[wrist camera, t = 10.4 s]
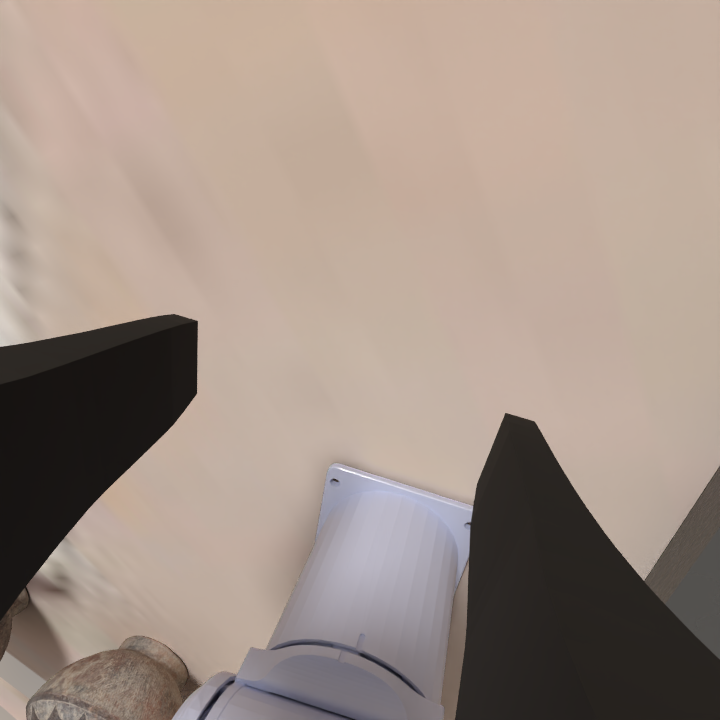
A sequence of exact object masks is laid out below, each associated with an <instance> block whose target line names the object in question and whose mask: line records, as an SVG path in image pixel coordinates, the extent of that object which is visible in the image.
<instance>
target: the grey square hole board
mask: <svg viewBox="0 0 720 720" xmlns="http://www.w3.org/2000/svg"><path fill="white" fill-rule="evenodd" d="M644 582H645V583H646V584H647V585H648V586H649V587H650V589H651V590H652V591H653V592H654V593H655V594H656V595H657V596H658V597H659V599H660V600H661V601H662V602H663V603H664V604H665V605H666V606H667V607H668V608H669V609H670V610H671V611H672V612H673V613H674V614H675V615H676V616H677V617H678V618H679V619H680V620H681V622H682V623H683V624H684V625H685V626H686V627H687V628H688V629H689V630H690V631H691V632H692V633H693V634H694V635H695V636H696V637H697V638H698V639H699V640H700V641H701V642H702V643H703V644H704V645H705V646H706V647H707V648H708V649H709V650H710V651H711V652H712V653H714V654H715V655H716V656H717V657H718V658H719V659H720V467H719V469H718V470H717V472H716V473H715V475H714V476H713V478H712V479H711V481H710V482H709V484H708V485H707V487H706V489H705V490H704V492H703V493H702V495H701V496H700V498H699V499H698V501H697V502H696V504H695V505H694V507H693V508H692V510H691V511H690V513H689V514H688V516H687V517H686V519H685V520H684V522H683V524H682V525H681V527H680V528H679V530H678V531H677V533H676V534H675V536H674V537H673V539H672V540H671V542H670V543H669V545H668V546H667V548H666V549H665V551H664V552H663V554H662V555H661V557H660V559H659V560H658V562H657V563H656V565H655V566H654V568H653V569H652V571H651V572H650V574H649V575H648V577H647V578H646V580H645V581H644Z"/></svg>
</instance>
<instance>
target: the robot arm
mask: <svg viewBox="0 0 720 720" xmlns="http://www.w3.org/2000/svg"><path fill="white" fill-rule="evenodd" d="M197 341H198V321H196V320H192V319H189V318H186V317H182V316H179V315H175V314H171V315H163V316H157V317H151V318H146V319H141V320H136V321H132V322H127V323H123V324H118V325H114V326H109V327H105V328H100V329H95V330H91V331H86V332H82V333H77V334H72V335H66V336H61V337H56V338H51V339H46V340H40V341H35V342H30V343H24V344H18V345H11V346H4V347H0V621H1V619H2V618H3V617H4V615H5V614H6V613H7V611H8V610H9V609H10V607H11V606H12V604H13V603H14V602H15V600H16V599H17V598H18V596H19V595H20V594H21V592H22V591H23V590H24V588H25V587H26V585H27V584H28V583H29V581H30V580H31V579H32V578H33V576H34V575H35V574H36V573H37V571H38V570H39V569H40V568H41V566H42V565H43V564H44V562H45V561H46V560H47V559H48V557H49V556H50V555H51V554H52V552H53V551H54V550H55V549H56V547H57V546H58V545H59V543H60V542H61V541H62V540H63V539H64V537H65V536H66V535H67V534H68V533H69V532H70V530H71V529H72V528H73V527H74V526H75V524H76V523H77V522H78V521H79V520H80V518H81V517H82V516H83V515H84V514H85V512H86V511H87V510H88V509H89V508H90V507H91V506H92V505H93V503H94V502H95V501H96V500H97V499H98V498H99V497H100V496H101V495H102V494H103V493H104V492H105V491H106V490H107V489H108V488H109V487H110V486H111V485H112V484H113V483H114V482H115V481H116V480H117V479H118V478H119V477H120V476H121V475H122V474H124V473H125V472H126V471H127V470H128V469H129V468H130V467H131V466H132V465H133V464H134V463H135V462H136V461H137V460H138V459H139V458H140V457H141V456H142V455H143V454H144V453H145V452H146V451H147V450H148V449H149V448H150V447H151V446H152V445H153V444H154V443H156V442H157V441H158V440H159V439H160V438H161V437H162V436H163V435H164V434H165V433H166V432H167V431H168V430H169V429H170V428H171V427H172V426H173V424H174V423H175V422H176V421H177V419H178V418H179V417H180V416H181V414H182V413H183V412H184V411H185V409H186V408H187V406H188V405H189V404H190V402H191V401H192V400H193V398H194V397H195V396H196V394H197ZM333 478H334V479H337V480H338V481H339V482H336V481H334V480H333ZM468 522H470V523H471V524H470V525H468V524H466V523H468ZM468 558H469V575H468V605H467V629H466V642H465V652H464V659H463V667H462V674H461V682H460V689H459V696H458V703H457V710H456V717H455V720H720V659H719V658H718V657H717V656H716V655H715V654H714V653H712V652H711V651H710V650H709V649H708V648H707V647H706V646H705V645H704V644H703V643H702V642H701V641H700V640H699V639H698V638H697V637H696V636H695V635H694V634H693V633H692V632H691V631H690V630H689V629H688V628H687V627H686V626H685V625H684V624H683V623H682V622H681V620H680V619H679V618H678V617H677V616H676V615H675V614H674V613H673V612H672V611H671V610H670V609H669V608H668V607H667V606H666V605H665V604H664V603H663V602H662V601H661V600H660V599H659V597H658V596H657V595H656V594H655V593H654V592H653V591H652V590H651V589H650V587H649V586H648V585H647V584H646V583H645V582H644V581H643V580H642V578H641V577H640V576H639V575H638V574H637V572H636V571H635V570H634V569H633V568H632V566H631V565H630V564H629V563H628V562H627V560H626V559H625V558H624V557H623V556H622V554H621V553H620V552H619V551H618V550H617V548H616V547H615V546H614V544H613V543H612V542H611V541H610V539H609V538H608V537H607V535H606V534H605V533H604V531H603V530H602V528H601V527H600V526H599V524H598V523H597V521H596V520H595V519H594V517H593V516H592V514H591V513H590V512H589V510H588V509H587V507H586V506H585V504H584V503H583V501H582V500H581V498H580V497H579V495H578V494H577V492H576V491H575V489H574V488H573V486H572V485H571V483H570V481H569V480H568V478H567V476H566V475H565V473H564V472H563V470H562V468H561V466H560V465H559V463H558V461H557V460H556V458H555V456H554V454H553V453H552V451H551V449H550V447H549V446H548V444H547V442H546V440H545V439H544V437H543V435H542V433H541V431H540V430H539V428H538V426H537V425H536V423H535V422H534V421H531V420H528V419H524V418H521V417H517V416H514V415H511V414H507V413H505V416H504V418H503V421H502V423H501V426H500V428H499V431H498V433H497V436H496V438H495V441H494V443H493V446H492V448H491V451H490V453H489V456H488V458H487V461H486V463H485V466H484V468H483V471H482V473H481V476H480V478H479V481H478V483H477V488H476V494H475V500H474V505H473V506H471V505H468V504H465V503H462V502H459V501H456V500H453V499H449V498H446V497H443V496H440V495H437V494H434V493H431V492H427V491H424V490H421V489H418V488H415V487H412V486H409V485H405V484H402V483H399V482H396V481H393V480H390V479H387V478H383V477H380V476H377V475H374V474H371V473H368V472H365V471H362V470H358V469H355V468H352V467H349V466H346V465H343V464H339V463H333V464H332V465H330V467H329V469H328V471H327V476H326V481H325V487H324V493H323V499H322V504H321V510H320V516H319V522H318V527H317V533H316V539H315V544H314V547H313V549H312V551H311V553H310V555H309V557H308V559H307V562H306V564H305V566H304V568H303V570H302V572H301V574H300V577H299V579H298V581H297V583H296V585H295V587H294V589H293V592H292V594H291V596H290V598H289V600H288V602H287V604H286V607H285V609H284V611H283V613H282V615H281V617H280V620H279V622H278V624H277V626H276V628H275V630H274V632H273V635H272V637H271V639H270V641H269V643H268V645H267V647H266V650H263V649H258V648H253V647H252V648H250V650H249V652H248V654H247V656H246V658H245V660H244V662H243V664H242V666H241V668H240V670H239V672H238V674H237V675H236V674H233V673H230V672H220V673H217V674H216V675H214V676H213V677H211V678H210V679H208V680H207V681H206V682H205V683H204V684H203V685H202V686H201V687H199V688H198V689H196V690H195V691H194V692H193V693H192V694H191V695H190V696H189V697H188V698H187V699H186V700H185V702H184V703H183V704H182V705H181V707H180V708H179V709H178V711H177V712H176V714H175V715H174V717H173V718H172V720H444V712H445V708H444V707H443V706H442V705H441V697H442V689H443V680H444V672H445V664H446V655H447V647H448V639H449V630H450V622H451V614H452V605H453V597H454V594H455V591H456V589H457V586H458V584H459V581H460V578H461V576H462V573H463V571H464V568H465V566H466V563H467V561H468Z"/></svg>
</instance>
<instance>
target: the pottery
mask: <svg viewBox="0 0 720 720" xmlns="http://www.w3.org/2000/svg"><path fill="white" fill-rule="evenodd" d="M28 600H29V597H28V594H27V591H26V589H25V588H24V590H23V591H22V592H21V594H20V595H19V596H18V598H17V599H16V600H15V602H14V603H13V604H12V606H11V607H10V609H9V610H8V611H7V613H6V614H5V615H4V617H3V618H2V619H1V621H0V661H1V659H2V657H3V655H4V652H5V650H6V648H7V646H8V642H9V638H10V634H11V629H12V617H13V616H15V615H16V614H18V613H19V612H21V611H22V610H24V609H25V608H26V607H27V605H28V602H29V601H28ZM187 677H188V674H187V670H186V667H185V665H184V664H183V662H182V661H181V659H180V658H179V657H178V656H177V655H175V654H174V653H173V652H172V651H171V650H170V649H169V648H168V647H167V646H165V645H164V644H162V643H160V642H158V641H156V640H153V639H152V638H151V639H150V638H148V637H145V636H133V637H130V638H127V639H126V640H125V641H124V642H123V643H122V645H121V646H120V648H119V649H117V650H109V651H104V652H100V653H97V654H94V655H92V656H89V657H86V658H83V659H81V660H79V661H76V662H75V663H73V664H70V665H69V666H67V667H65V668H64V669H62V670H61V671H59V672H58V673H57V674H55V675H54V676H53V677H52V678H51V679H49V680H48V681H47V682H46V683H45V684H44V685H43V686H42V687H41V688H40V689H39V690H38V691H37V692H36V693H35V694H34V695H33V696H32V698H31V699H30V700H29V701H28V703H27V706H26V717H27V720H172V718H173V717H174V715H175V714H176V712H177V711H178V709H179V708H180V707H181V705H182V704H183V701H182V697H181V694H180V691H181V690H182V688H183V686H184V684H185V682H186V680H187Z"/></svg>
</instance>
